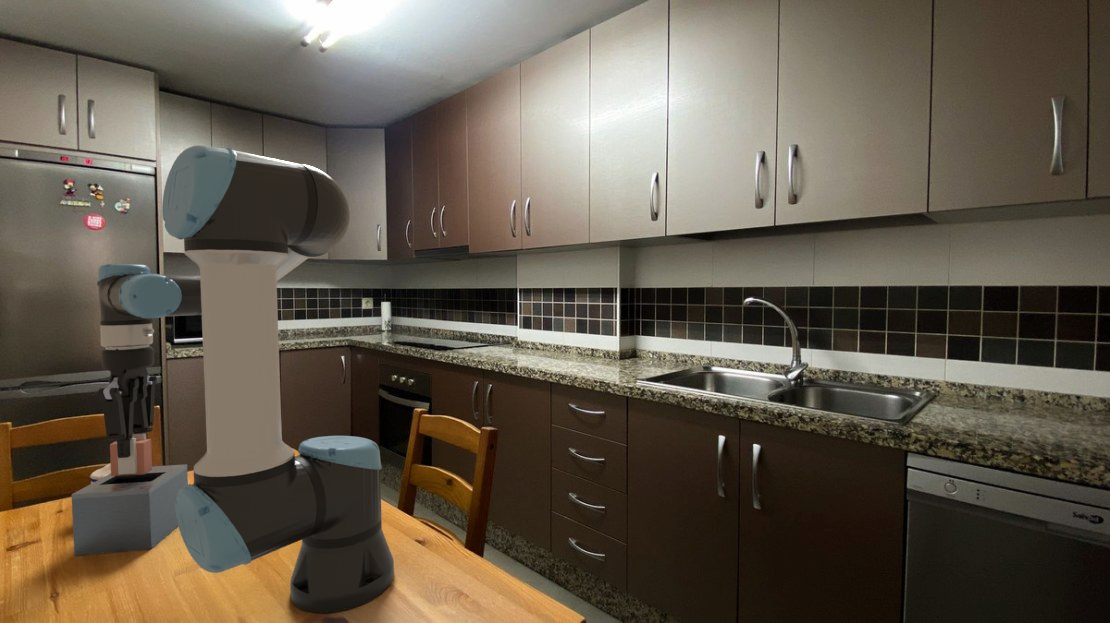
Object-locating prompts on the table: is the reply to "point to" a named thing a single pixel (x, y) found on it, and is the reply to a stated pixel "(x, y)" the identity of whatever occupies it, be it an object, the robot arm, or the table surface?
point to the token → (142, 457)
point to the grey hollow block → (127, 511)
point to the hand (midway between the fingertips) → (133, 470)
